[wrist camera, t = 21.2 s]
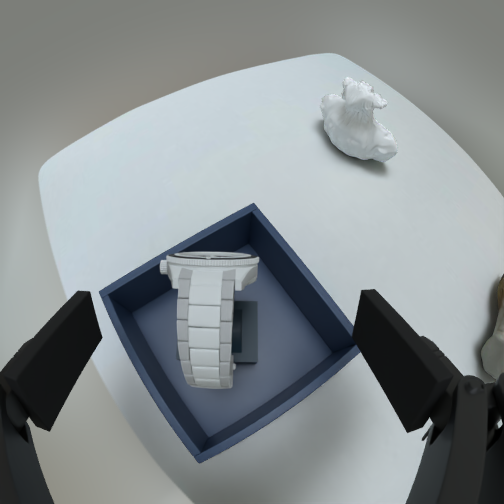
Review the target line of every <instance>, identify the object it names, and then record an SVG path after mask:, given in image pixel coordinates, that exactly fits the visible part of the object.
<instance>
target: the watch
mask: <svg viewBox="0 0 504 504" xmlns="http://www.w3.org/2000/svg"><path fill="white" fill-rule="evenodd" d="M257 263H259V257H257V256H255V255H249V254H243V253H232V252H183V253H175V254H170V255H167V256H166V260H161V262H160V273H161V274H168V277H169V279H170V281H171V284H172V288H175V289H178V298H179V299H177V319H178V320H177V349H176V359H178V360H180V361H181V365H182V370H183V373H184V376H185V379H186V381H187V383H188V384H189V385H190V386H192V387H198V388H209V389H227V388H231V387H232V386H233V370H235V369H236V364H239V365H255V364H256V363H257V362H258V301H234V288H235V290H237V291H241V290H243V289H244V288H245V286H246V285H249V284H251V283H253V282H255V281H256V278H257V270H258V265H257Z"/></svg>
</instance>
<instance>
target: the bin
mask: <svg viewBox="0 0 504 504" xmlns="http://www.w3.org/2000/svg"><path fill="white" fill-rule="evenodd" d="M183 252H232V253H243V254H249V255H255V256H257V257H259V263H257V265H258V270H257V278H256V281H255V282H253V283H251V284H249V285H246V286H245V288H244V289H243V290H241V291H237V290H235V288H234V301H258V362H257V363H256V364H255V365H239V364H236V369H235V370H233V386H232V387H231V388H227V389H209V388H198V387H192V386H190V385H189V384H188V383H187V381H186V379H185V376H184V373H183V370H182V365H181V361H180V360H178V359H176V349H177V320H178V319H177V299H179V298H178V289H175V288H172V284H171V281H170V279H169V277H168V274H161V273H160V262H161V260H166V256H167V255H170V254H175V253H183ZM99 294H100V296H101V298H102V301H103V303H104V305H105V308H106V310H107V312H108V315H109V317H110V319H111V321H112V323H113V326H114V328H115V330H116V332H117V334H118V336H119V338H120V340H121V342H122V344H123V346H124V348H125V350H126V352H127V354H128V356H129V358H130V360H131V362H132V364H133V365H134V367H135V369H136V371H137V373H138V374H139V376H140V378H141V380H142V381H143V383H144V385H145V387H146V388H147V390H148V392H149V393H150V395H151V396H152V398H153V400H154V401H155V403H156V404H157V406H158V408H159V409H160V411H161V412H162V414H163V415H164V417H165V418H166V420H167V421H168V423H169V424H170V426H171V427H172V429H173V430H174V431H175V433H176V434H177V436H178V437H179V438H180V440H181V441H182V442H183V444H184V445H185V446H186V448H187V449H188V450H189V452H190V453H191V454H192V456H194V458H195V459H196V461H197V462H198V463H202V462H204V461H206V460H208V459H210V458H211V457H213V456H215V455H217V454H219V453H221V452H223V451H224V450H226V449H228V448H230V447H232V446H233V445H235V444H237V443H238V442H240V441H242V440H244V439H245V438H247V437H248V436H250V435H252V434H253V433H255V432H257V431H258V430H260V429H261V428H263V427H264V426H266V425H267V424H269V423H270V422H272V421H273V420H275V419H276V418H278V417H279V416H281V415H282V414H284V413H285V412H287V411H288V410H289V409H291V408H292V407H294V406H295V405H296V404H298V403H299V402H300V401H302V400H303V399H304V398H306V397H307V396H308V395H310V394H311V393H312V392H314V391H315V390H316V389H317V388H319V387H320V386H321V385H322V384H324V383H325V382H326V381H327V380H329V379H330V378H331V377H332V376H333V375H335V374H336V373H337V372H338V371H339V370H341V369H342V368H343V367H344V366H345V365H346V364H348V363H349V362H350V361H351V360H352V359H353V358H354V357H355V356H356V355H358V354H359V353H360V350H359V348H358V347H357V345H356V343H355V342H354V340H353V338H352V333H353V328H354V326H353V325H352V324H351V322H350V321H349V320H348V319H347V317H346V316H345V315H344V313H343V312H342V311H341V309H340V308H339V307H338V306H337V304H336V303H335V302H334V301H333V299H332V298H331V297H330V295H329V294H328V293H327V292H326V290H325V289H324V288H323V287H322V285H321V284H320V283H319V282H318V280H317V279H316V278H315V277H314V275H313V274H312V273H311V272H310V270H309V269H308V268H307V267H306V265H305V264H304V263H303V262H302V260H301V259H300V258H299V257H298V256H297V254H296V253H295V252H294V251H293V249H292V248H291V247H290V246H289V245H288V243H287V242H286V241H285V240H284V238H283V237H282V236H281V235H280V234H279V232H278V231H277V230H276V229H275V228H274V226H273V225H272V224H271V223H270V222H269V220H268V219H267V218H266V217H265V216H264V215H263V213H262V212H261V211H260V210H259V209H258V207H257V206H256V205H255V204H254V203H252V204H251V205H249V206H247V207H245V208H243V209H241V210H239V211H237V212H236V213H234V214H232V215H230V216H228V217H226V218H224V219H223V220H221V221H219V222H217V223H215V224H213V225H212V226H210V227H208V228H206V229H204V230H202V231H201V232H199V233H197V234H195V235H194V236H192V237H190V238H188V239H186V240H185V241H183V242H181V243H179V244H178V245H176V246H174V247H172V248H171V249H169V250H167V251H165V252H164V253H162V254H160V255H159V256H157V257H155V258H153V259H152V260H150V261H148V262H147V263H145V264H143V265H142V266H140V267H138V268H136V269H135V270H133V271H131V272H130V273H128V274H127V275H125V276H123V277H122V278H120V279H118V280H117V281H115V282H113V283H112V284H110V285H109V286H107V287H105V288H104V289H102V290H101V291H99Z"/></svg>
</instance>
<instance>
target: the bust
mask: <svg viewBox="0 0 504 504" xmlns="http://www.w3.org/2000/svg"><path fill="white" fill-rule="evenodd" d="M342 84H343V88H344V90H343V91H342V93H341V94H342V97H340V96H338V95H335V94H328V95H325V96H324V97H323V98H322V103H321V105H320V108H321V111H322V114H323V119H324V123H325V125H324V130H325V131H326V133H327V134H328V136H329V137H330V140H331V142H332V143H333V144H334V145H335V146H336V147H337V148H338V149H339V150H341V151H342V152H344V153H345V154H347V155H349V156H353V157H357V158H359V159H362V160H367V159H370V158H371V159H374V160H377V161H380V162H385V161H387V160H389V159H391V158H392V157H393V156H395V155H396V153H397V151H398V145H397V142H396V140H395V138H394V136H393V135H392V133H391V132H390V131H389V130H387V129H386V128H385V127H384V126H383V125H381V124H380V123H379V122H377V121H376V119H375V118H374V115H373V110H374V108H379V109H382V108H383V107H386V106H387V104H388V102H387V101H386V100H384V99H383V98H382V97H381V95H379V94H378V93H376V94H374V88H373V87H372V86H370V85H369V84H367V83H365V82H364V81H363V80H362V81H361V82H358V83H357V82H356V81H354V80H353V79H352V78H351V77H345V78H344V81H343V82H342Z"/></svg>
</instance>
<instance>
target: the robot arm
mask: <svg viewBox="0 0 504 504" xmlns="http://www.w3.org/2000/svg"><path fill="white" fill-rule="evenodd" d="M352 338H353V340H354V342H355V343H356V345H357V347H358V348H359V350H360V352H361V353H362V355H363V357H364V358H365V360H366V362H367V363H368V365H369V367H370V368H371V370H372V372H373V373H374V375H375V377H376V379H377V380H378V382H379V384H380V385H381V387H382V389H383V391H384V392H385V394H386V396H387V398H388V399H389V401H390V403H391V405H392V406H393V408H394V410H395V412H396V414H397V415H398V417H399V419H400V421H401V423H402V424H403V426H404V428H405V430H406V432H407V433H409V432H411V431H414V430H417V429H419V428H422V427H423V426H424V425H425V423H426V422H427V420H428V419H429V417H430V419H431V420H432V422H433V424H432V425H431V427H430V428H429V429H428V431H427V432H426V433H425V435H424V436H423V438H422V440H423V441H424V440H425V438H426V437H427V436H428V438H427V441H426V445H425V449H424V452H423V456H422V459H421V463H420V466H419V469H418V472H417V475H416V478H415V481H414V483H413V486H412V489H411V491H410V494H409V497H408V499H407V501H406V504H504V372H503V373H501V374H500V375H499V377H498V379H497V381H496V382H495V383H488V384H484V382H483V381H482V380H481V379H479V378H478V377H475V376H471V375H467V376H463V375H462V374H461V373H460V371H459V370H458V369H457V368H456V367H455V366H454V365H453V363H452V362H451V361H450V360H449V359H448V358H447V357H446V356H445V355H444V353H443V352H442V351H441V350H439V348H438V347H437V346H436V345H435V344H434V342H432V341H431V340H429V339H428V338H426V337H424V336H419V335H418V334H417V333H416V332H415V331H414V330H413V329H412V328H411V326H410V325H409V324H408V323H407V322H406V321H405V320H404V319H403V318H402V317H401V316H400V315H399V314H398V313H397V312H396V311H395V309H394V308H393V307H392V306H391V305H390V304H389V303H388V302H387V301H386V300H385V299H384V298H383V297H382V296H381V295H380V294H379V293H378V292H377V291H376V290H375V289H371V290H361V295H360V300H359V305H358V310H357V315H356V319H355V324H354V328H353V333H352ZM101 339H102V335H101V331H100V328H99V324H98V321H97V317H96V313H95V310H94V306H93V302H92V298H91V293H90V291H77V292H76V293H75V294H74V295H73V296H72V297H71V298H70V299H69V300H68V301H67V302H66V303H65V304H64V305H63V306H62V307H61V308H60V309H59V311H57V313H56V314H55V315H54V316H53V317H52V318H51V319H50V320H49V321H48V322H47V323H46V324H45V325H44V326H43V328H42V329H41V330H40V331H39V332H38V333H37V334H36V335H35V336H34V338H32V339H30V340H29V341H27V342H26V343H24V344H23V345H22V347H21V348H20V349H19V350H18V352H16V354H15V355H14V357H13V358H11V360H10V361H9V362H8V363H7V364H6V366H5V367H4V368H3V369H2V371H1V372H0V504H54V502H53V499H52V497H51V495H50V492H49V489H48V487H47V484H46V482H45V479H44V476H43V473H42V470H41V467H40V464H39V461H38V457H37V454H36V451H35V447H34V444H33V439H32V435H31V431H30V427H29V425H28V423H27V422H26V421H27V419H28V417H30V419H31V420H32V421H33V423H34V424H35V426H37V427H39V428H42V429H44V430H47V431H50V430H51V428H52V426H53V424H54V422H55V420H56V418H57V416H58V414H59V412H60V410H61V409H62V407H63V405H64V403H65V401H66V399H67V397H68V396H69V394H70V392H71V390H72V388H73V386H74V385H75V383H76V381H77V379H78V377H79V376H80V374H81V372H82V371H83V369H84V367H85V365H86V364H87V362H88V361H89V359H90V357H91V356H92V354H93V352H94V351H95V349H96V347H97V346H98V344H99V342H100V341H101ZM500 419H502V423H503V424H502V426H501V427H500V428H498V425H497V423H498V422H499V421H500Z"/></svg>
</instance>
